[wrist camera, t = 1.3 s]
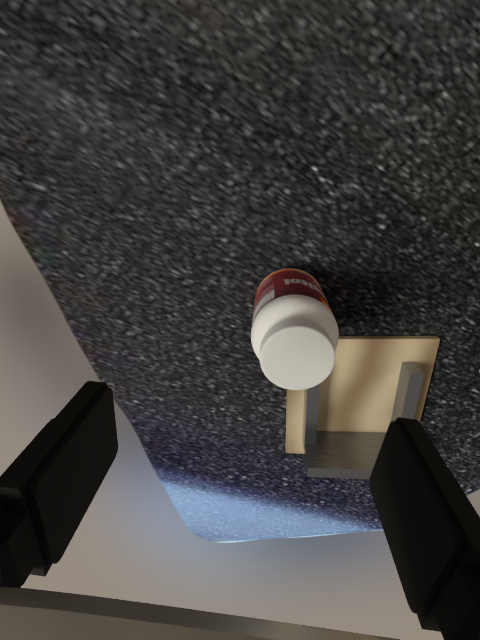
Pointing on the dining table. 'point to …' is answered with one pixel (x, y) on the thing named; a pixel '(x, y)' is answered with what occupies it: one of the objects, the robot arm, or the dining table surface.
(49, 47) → the dining table surface
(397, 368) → the maple board
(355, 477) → the gunmetal guide rail
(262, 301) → the pill bottle
